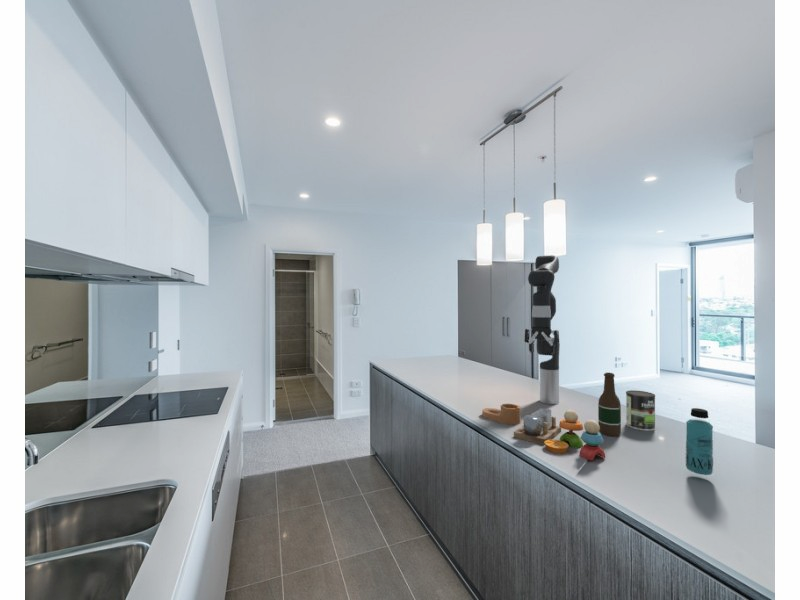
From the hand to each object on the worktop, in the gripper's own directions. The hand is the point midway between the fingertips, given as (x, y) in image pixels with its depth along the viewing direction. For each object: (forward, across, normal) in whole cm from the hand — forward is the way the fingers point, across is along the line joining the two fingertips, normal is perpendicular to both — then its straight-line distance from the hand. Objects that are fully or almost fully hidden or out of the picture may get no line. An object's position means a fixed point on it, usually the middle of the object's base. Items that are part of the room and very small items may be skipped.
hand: (541, 353), depth 158 cm
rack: (+30, -4, +15) cm, 34 cm away
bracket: (+30, +16, +7) cm, 35 cm away
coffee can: (+30, -33, -22) cm, 50 cm away
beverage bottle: (+30, -54, +17) cm, 64 cm away
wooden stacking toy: (+30, -20, +22) cm, 43 cm away
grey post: (+28, -4, +13) cm, 31 cm away
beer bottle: (+30, -25, -5) cm, 40 cm away
